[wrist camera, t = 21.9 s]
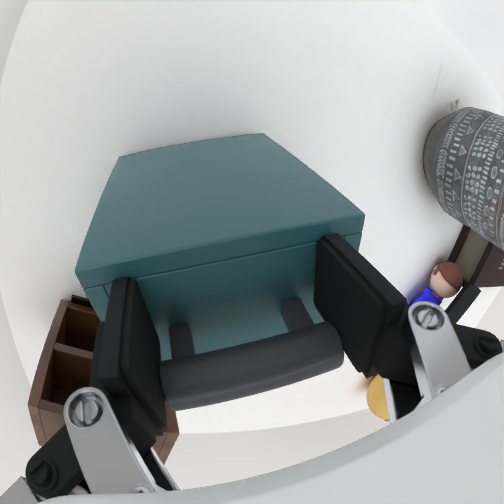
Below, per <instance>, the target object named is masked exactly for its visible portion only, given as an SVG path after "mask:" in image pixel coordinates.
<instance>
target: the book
mask: <svg viewBox="0 0 504 504" xmlns="http://www.w3.org/2000/svg"><path fill="white" fill-rule="evenodd" d="M448 262H452V263H454V264H456V265H457V266H458V267H459V268H460V270H461V272H462V276H463V282H462V287H464V285H465V284H466V283H467V281H468V282H469V283H471V284H473V285H474V286H476V287H477V288H478V287H497V286H504V251H503V250H502V249H500V248H499V247H497V246H496V245H494V244H493V243H491V242H490V241H488V240H487V239H485V238H484V237H482V236H481V235H480V234H478V233H477V232H476V231H474V230H473V229H471V228H470V227H468V226H466V225H464V226H463V228H462V230H461V233H460V235H459V237H458V240H457V242H456V244H455V246H454V248H453V250H452V253H451V255H450V257H449V259H448Z"/></svg>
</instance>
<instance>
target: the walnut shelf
mask: <svg viewBox="0 0 504 504" xmlns="http://www.w3.org/2000/svg"><path fill="white" fill-rule="evenodd" d="M100 322H101V321H100V319H99V317H98V315H97V314H96V312H95V310H94V308H90V307H86V306H83V305H79V304H75V303H72V302H68V301H65V300H61V302H60V304H59V307H58V309H57V312H56V314H55V317H54V319H53V322H52V325H51V327H50V330H49V333H48V336H47V339H46V341H45V344H44V347H43V350H42V354H41V357H40V360H39V363H38V367H37V370H36V373H35V377H34V381H33V384H32V388H31V393H30V396H29V401H28V408H29V412H30V416H31V420H32V423H33V427H34V430H35V434H36V437H37V440H38V443H39V445H40V446H43V445H44V444H45V443H46V442H47V441H48V440H49V439H50V438H51V437H52V436H53V435H54V434H55V433H56V432H57V431H58V430H59V429H60V428H61V427H62V426H64V425H65V424H66V423H65V420H64V414H63V410H64V405H65V403H66V401H67V399H68V398H69V397H70V395H71V394H72V393H74V392H75V391H77V390H78V389H81V388H84V387H89V381H90V372H91V365H92V357H93V350H94V344H95V338H96V332H97V327H98V324H99V323H100ZM165 406H166V415H167V426H165V427H163V434H164V435H163V436H156V443H155V444H154V445H153V446H152V447H153V449H154V451H155V452H156V454H157V455H158V457H159V459H160V460H161V462H162V463H163V465H164V464H165V462H166V460H167V458H168V455H169V454H170V452H171V450H172V448H173V446H174V443H175V441H176V439H177V437H178V435H179V428H178V423H177V418H176V413H175V411H172V410H171V409H170V408H169V406H168V405H167V403H166V401H165Z"/></svg>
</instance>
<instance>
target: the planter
mask: <svg viewBox="0 0 504 504" xmlns="http://www.w3.org/2000/svg"><path fill="white" fill-rule="evenodd" d="M423 166H424V172H425V175H426V178H427V180H428V182H429V184H430V186H431V189H432V191H433V193H434V195H435V196H436V198H437V200H438V202H439V204H440V205H441V207H442V208H443V210H444V211H445V212H446V213H447V214H449V215H450V216H452V217H453V218H455V219H456V220H458V221H460V222H461V223H463V224H464V225H466V226H468V227H470V228H471V229H473V230H474V231H476V232H477V233H478V234H480V235H481V236H482V237H484V238H485V239H487V240H488V241H490V242H491V243H493V244H494V245H496V246H497V247H499V248H500V249H502V250H503V251H504V117H503V116H499V115H497V114H494V113H491V112H488V111H485V110H481V109H477V108H472V107H467V108H463V109H461V110H458V111H456V112H454V113H452V114H450V115H448V116H446V117H444V118H443V119H441V120H440V121H438V122H437V123H436V124H435V125H434V126H433V127H432V129H431V130H430V132H429V134H428V136H427V139H426V142H425V146H424V153H423Z"/></svg>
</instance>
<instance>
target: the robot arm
mask: <svg viewBox="0 0 504 504" xmlns="http://www.w3.org/2000/svg"><path fill="white" fill-rule="evenodd" d="M313 301H314V305H315V307H316V309H317V311H318V312H319V314H320V315H321V317H322V318H323V320H324V321H327V322H330V323H331V324H333V326H334V327H335V328H336V330H337V331H338V333H339V335H340V338H341V341H342V344H343V349H344V352H345V353H346V355H347V356H348V358H349V359H350V361H351V363H352V364H353V366H354V367H355V369H356V370H357V371H358V372H362V373H363V374H364V376H365V377H366V379H367V378H369V377H371V376H374V375H376V374H379V375H380V376H381V378H383V383H384V388H385V394H386V400H387V407H388V414H389V421H390V424H389V425H388V426H386V427H384V428H382V429H380V430H378V431H376V432H374V433H372V434H370V435H368V436H366V437H364V438H362V439H360V440H357V441H355V442H353V443H351V444H348V445H346V446H344V447H341V448H339V449H337V450H334V451H332V452H329V453H327V454H324V455H322V456H319V457H316V458H314V459H311V460H308V461H305V462H302V463H300V464H296V465H293V466H290V467H287V468H284V469H281V470H278V471H274V472H270V473H267V474H263V475H259V476H255V477H251V478H247V479H243V480H238V481H233V482H229V483H224V484H219V485H213V486H207V487H200V488H193V489H186V490H180V489H179V487H178V486H177V484H176V483H175V482H174V480H173V479H172V477H171V476H170V474H169V473H168V471H167V470H166V468H165V467H164V465H163V463H162V462H161V460H160V459H159V457H158V455H157V454H156V452H155V451H154V449H153V447H152V446H153V445H154V444H155V443H156V436H163V435H164V434H163V427H165V426H167V415H166V406H165V398H164V395H163V392H162V388H161V384H160V379H159V363H160V362H161V347H160V340H159V336H158V334H157V331H156V329H155V327H154V324H153V322H152V319H151V317H150V314H149V312H148V309H147V307H146V304H145V302H144V299H143V296H142V294H141V291H140V288H139V286H138V283H137V281H136V280H131V279H130V277H129V276H128V277H124V278H119V279H114V280H113V281H112V286H111V290H110V295H109V300H108V306H107V311H106V317H105V321H102V322H100V323H99V324H98V327H97V332H96V338H95V344H94V350H93V357H92V365H91V372H90V381H89V387H84V388H81V389H78V390H77V391H75V392H74V393H72V394H71V395H70V397H69V398H68V399H67V401H66V403H65V405H64V410H63V414H64V420H65V423H66V424H65V425H64V426H62V427H61V428H60V429H59V430H58V431H57V432H56V433H55V434H54V435H53V436H52V437H51V438H50V439H49V440H48V441H47V442H46V443H45V444H44V445H43V446H42V447H41V448H40V449H39V450H38V451H37V452H36V453H35V454H34V455H33V456H32V457H31V459H30V460H29V461H28V463H27V467H26V477H25V478H23V477H22V476H21V477H20V478H19V479H18V480H17V481H16V482H15V483H14V484H13V485H12V486H11V487H10V488H9V489H8V490H7V491H6V492H5V493H4V494H3V495H2V496H1V497H0V504H504V340H501V341H499V339H498V338H497V337H496V336H495V335H493V334H492V333H490V332H487V331H484V330H480V329H475V328H471V327H467V326H462V325H458V324H453V323H451V322H450V319H449V317H448V315H447V314H446V312H445V311H444V310H443V309H442V308H441V307H440V306H438V305H436V304H435V303H432V302H428V301H420V302H416V303H414V304H412V305H411V306H409V305H408V304H407V303H406V301H407V299H406V298H405V297H404V296H403V295H402V294H401V293H400V292H399V291H398V290H397V289H396V288H395V287H394V286H393V285H392V284H391V283H390V282H389V281H388V280H387V279H386V278H385V277H384V276H383V275H382V274H381V273H380V272H379V271H378V270H377V269H376V268H374V267H373V266H372V265H371V264H370V263H369V262H368V261H367V260H366V259H365V258H364V257H363V256H362V255H361V254H360V253H359V252H358V251H357V250H356V249H354V248H353V247H352V246H351V245H350V244H349V243H348V242H347V241H346V240H345V239H344V238H343V237H341V236H340V235H339V234H338V233H335V234H330V235H325V236H322V237H321V240H320V241H318V242H317V247H316V266H315V282H314V297H313Z"/></svg>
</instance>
